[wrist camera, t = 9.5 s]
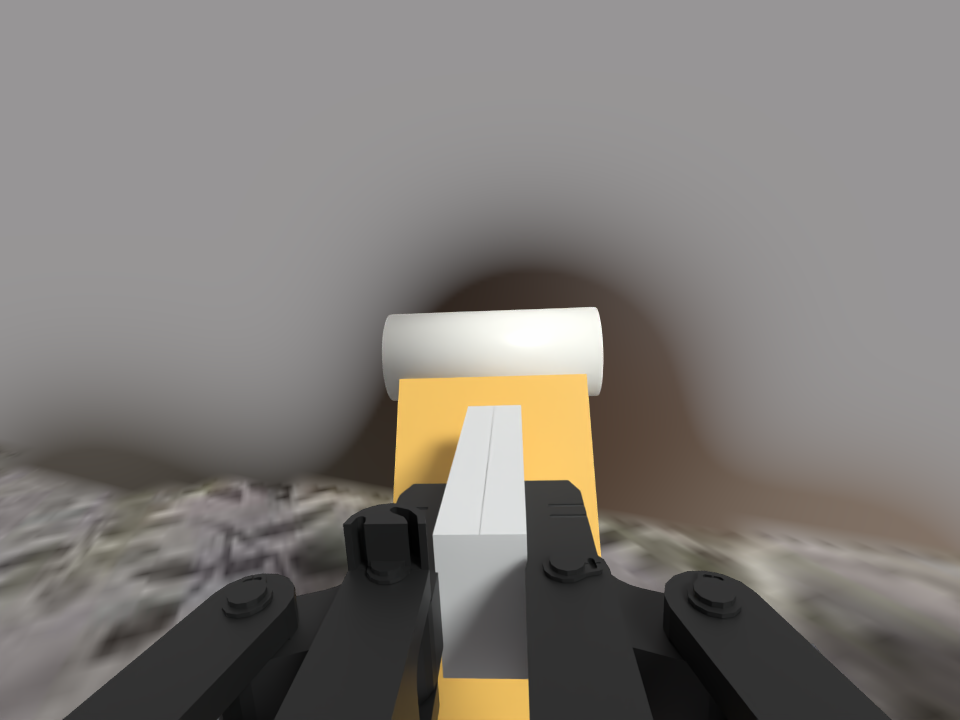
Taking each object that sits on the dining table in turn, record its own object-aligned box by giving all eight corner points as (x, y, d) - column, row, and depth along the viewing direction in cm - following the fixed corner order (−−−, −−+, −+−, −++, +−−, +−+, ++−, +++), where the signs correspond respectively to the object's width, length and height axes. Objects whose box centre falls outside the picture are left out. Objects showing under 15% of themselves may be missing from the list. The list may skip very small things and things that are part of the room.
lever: (653, 905, 12) (598, 291, 17) (348, 892, 12) (384, 299, 17) (627, 833, 14) (586, 328, 19) (380, 825, 15) (404, 334, 20)
